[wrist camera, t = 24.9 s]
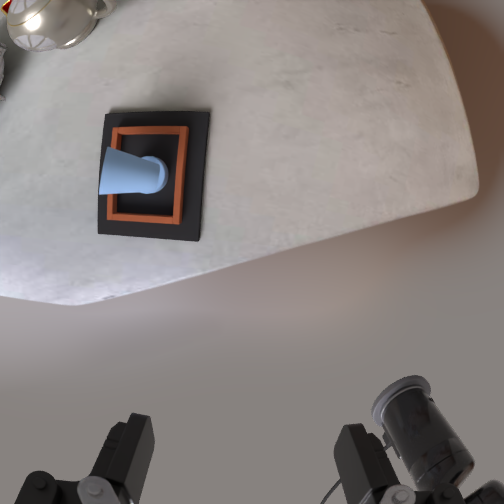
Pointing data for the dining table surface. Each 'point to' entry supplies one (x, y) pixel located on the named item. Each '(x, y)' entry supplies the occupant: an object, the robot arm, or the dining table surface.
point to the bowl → (2, 65)
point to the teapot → (52, 22)
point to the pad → (179, 179)
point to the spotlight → (131, 173)
